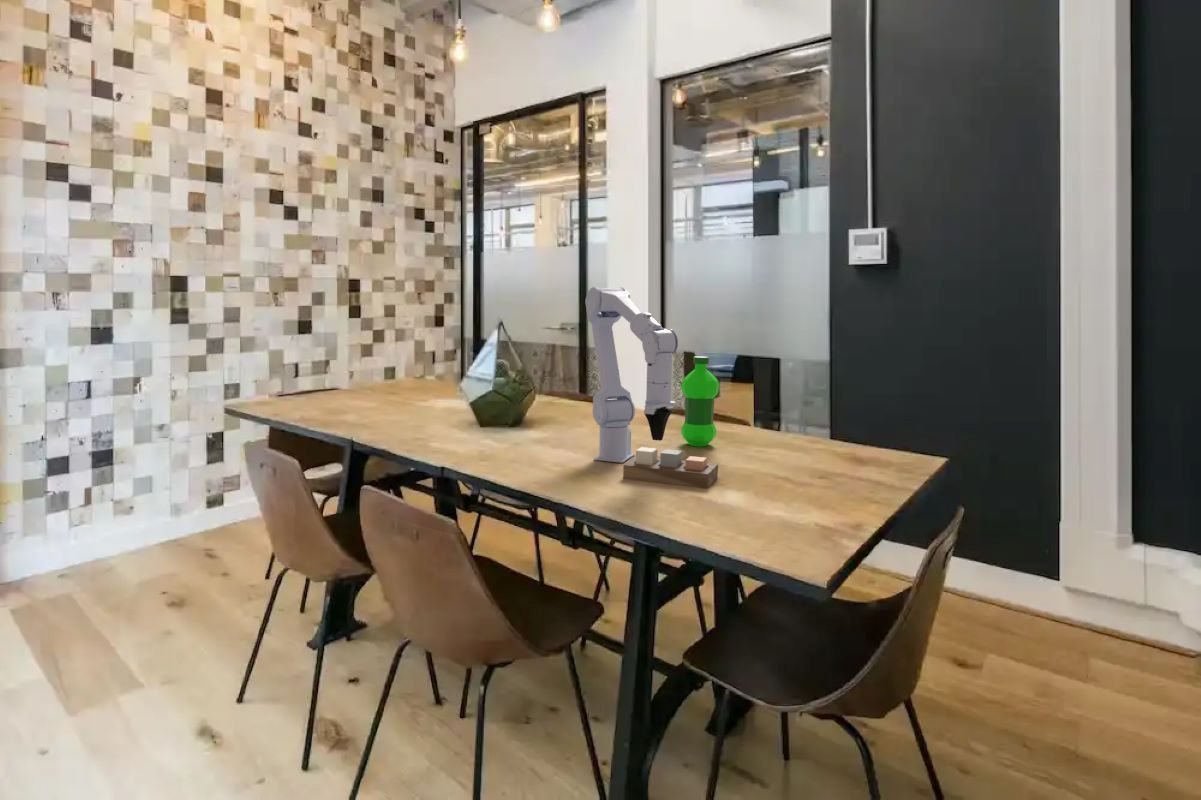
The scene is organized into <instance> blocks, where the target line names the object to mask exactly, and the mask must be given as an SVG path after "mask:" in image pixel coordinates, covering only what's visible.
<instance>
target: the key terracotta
mask: <svg viewBox="0 0 1201 800" xmlns="http://www.w3.org/2000/svg"><path fill="white" fill-rule="evenodd" d="M685 461H686V464H685V469H692V470H702V471H704V470H705V469H707V463H708V458H707V457H702V456H691V455H689V456H688V457H687V458H686V459H685Z"/></svg>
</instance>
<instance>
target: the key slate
mask: <svg viewBox="0 0 1201 800" xmlns="http://www.w3.org/2000/svg"><path fill="white" fill-rule="evenodd" d="M659 458H660V466H664V467H673V468H679V467H680V466H681V465H682V460H683V451H682V450H675V449H674V450H673V449H664V450H663V451H661V452H660V457H659Z"/></svg>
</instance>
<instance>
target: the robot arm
mask: <svg viewBox="0 0 1201 800" xmlns="http://www.w3.org/2000/svg"><path fill="white" fill-rule="evenodd" d="M584 304H585V307H586V308H585V309H586V314H587V315H586V316H587V321H588V322H589V323H590V324H591V330H592V331H591V332H592V336H593V343H594V350H595V351H594V352H595V357H596V363H597V364H596V365H597V369H598V370H597V371H598V376H599V377H598V378H599V384H600V389H599V390H598V391H597V392H596V393H595V395H594V396H593V397H592V404H593V405H592V415H593V416H592V417H593V419H594V422H595V423H596V424H597V425H598V426H599V454H598V455H597V456H595V457H593V460H594V461H601V462H602V461H603V462H611V463H612V462H613V463H619V464H621V463H624V462H626V461H627V460H629V459H630V458H632V457H634V456H635V453H634V452H632V430H631V428H630V425H631V422H632V421H633V420H634V418H635V415H636V407H635V404H634V402H633V399H632V395H631V392H630V391H629V390H627V389H626V388H624V386H622V382H621V376H620V372H619V371H620V370H619V363H618V356H617V351H616V346H615V345H616V344H615V338H614V331H613V326H614V324H615V323H617V322H619V321H620V319H621V318H624V319H625V320H626V321H627V322H628V323H629V328H630V329H629V330H630V331H631V332H632V333H633V334H634V335H635V336H636V338H638V340H639V341H640V342H641V343H642V344H641V345H642V350H643V352H644V360H645V363H646V393H645V394H646V396H645V403H644V404H645V405H644V411H643V413H644V416H645V417H646V419H647V420H646V421H647V422H648V426H649V430H650V434H651V436H650V437H651V438H652V440H653V441H660V442H661V441H662V440H663V439H664V435H665V431H666V428H667V422H668V421H669V418H670V415H671V414H673V413H672V412H673V409H672V408H667V407H669V406H676V405H677V402H676V401H672V380H673V379H672V373H673V355H674V354H676V352H677V350H678V347H679V338H678V336H677V334H676V332H675V331H674V330H673V328H672V329H670V328H668V329H667V328H664V327H662V325H661V324H660V323H658V322H657V321H656V319H654V318H653V316H652V314H651V313H650V312H641V311H640V310H639V308H638V307H637V306H636V305H635V304H634V303H633V301H632V300H631V294H630V292H629V291H627V289H626V288H625V287H596V286H593V287H591V288H589V290H588V291H587V293H586V297H585V303H584Z"/></svg>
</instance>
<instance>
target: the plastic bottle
mask: <svg viewBox="0 0 1201 800" xmlns="http://www.w3.org/2000/svg"><path fill="white" fill-rule="evenodd" d="M692 359H693V360H692V363H693V364H694V369H693V370H692V371H690V372H689V373H688V374H687V375H686V376H685V377H684V378H683V380H682V381H681V393H682V394H683V395H684V397H685V406H684V408H685V409H684V423H683V425H682V426H681V428H680V429H681V432H680V433H681V436H682V438H683V439H684V440H685V441H686V442H687V443H688V445H690V446H692V447H707V446H708V445H709V444H710V443H711V442H712V441H713V440H714V439H715V437H716V436H717V428H716V425H715V423H714V413H715V411H714V409H715V397H716V396H717V395H718V394H719V390H720V382H719V380H718V379H717V377H716V376H715V375H714V374H713V373H711V372H710V370H708V369H707V367H708V365H709V363H710V362H709V361H710V357H709V356H706V355H705V356H704V355H703V356H702V355H701V356H699V355H698V356H697V355H696V356H693V358H692Z"/></svg>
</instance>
